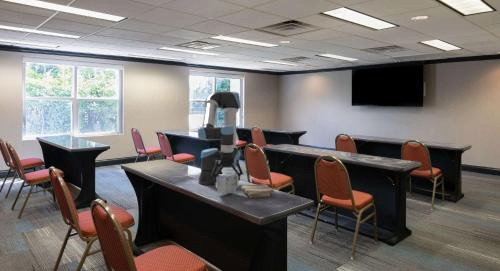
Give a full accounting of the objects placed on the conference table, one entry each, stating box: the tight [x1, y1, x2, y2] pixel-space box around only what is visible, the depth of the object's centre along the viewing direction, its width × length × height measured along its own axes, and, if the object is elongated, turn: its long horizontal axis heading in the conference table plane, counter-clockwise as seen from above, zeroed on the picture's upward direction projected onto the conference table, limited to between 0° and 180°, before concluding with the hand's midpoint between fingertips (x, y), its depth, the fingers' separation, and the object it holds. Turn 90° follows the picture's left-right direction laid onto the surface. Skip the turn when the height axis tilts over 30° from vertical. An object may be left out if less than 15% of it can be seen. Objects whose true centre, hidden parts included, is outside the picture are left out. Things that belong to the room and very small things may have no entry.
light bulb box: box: [217, 171, 237, 195], centre depth 202 cm, size 11×7×11 cm, turn 145°
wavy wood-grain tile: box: [240, 183, 275, 199], centre depth 204 cm, size 16×16×4 cm
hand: (227, 186), depth 202 cm, fingers closed on light bulb box, 12 cm apart
